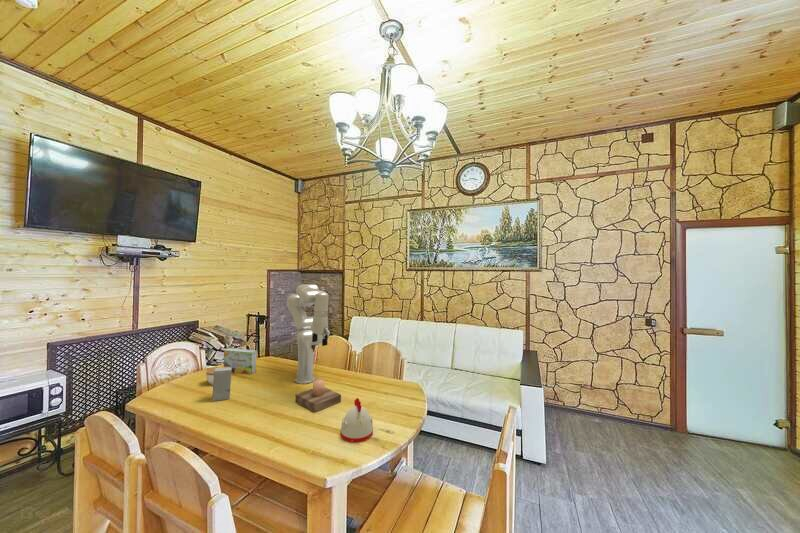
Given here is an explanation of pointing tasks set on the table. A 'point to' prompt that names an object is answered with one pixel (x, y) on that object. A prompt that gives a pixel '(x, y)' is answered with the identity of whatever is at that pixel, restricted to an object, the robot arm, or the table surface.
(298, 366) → the robot arm
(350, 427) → the kitchen timer
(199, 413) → the table surface
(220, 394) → the skincare box
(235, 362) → the snack box
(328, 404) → the walnut platform
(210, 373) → the lidded jar
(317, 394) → the terracotta cylinder
